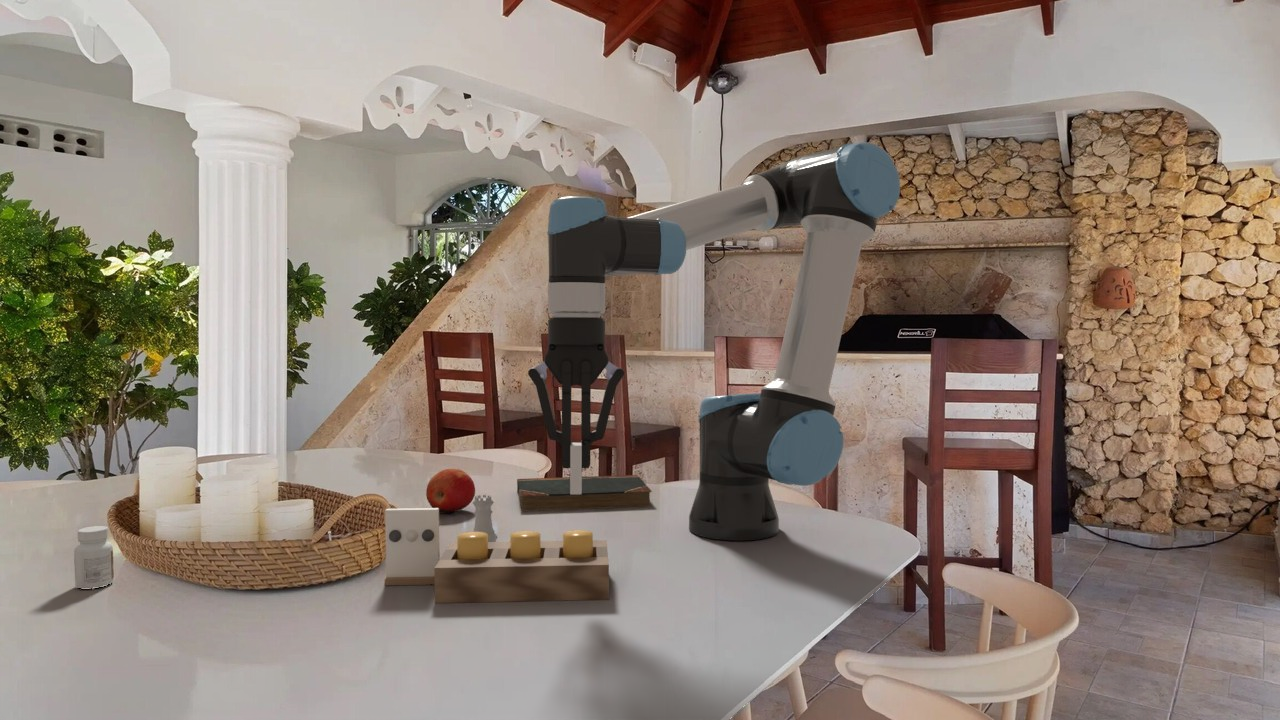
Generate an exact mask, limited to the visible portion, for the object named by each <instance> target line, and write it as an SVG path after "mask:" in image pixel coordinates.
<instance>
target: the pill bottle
mask: <svg viewBox="0 0 1280 720" xmlns="http://www.w3.org/2000/svg"><path fill="white" fill-rule="evenodd" d="M108 538H109V527H108V526H105V525H94V526H87V527H83V528H80V529H78V530H77V541H78V542H79V544H78V545H77V546H76V547H75V548H74V549H73V552H74V553H73V557H74V558H73V560H74V583H75V585H74V586H75V588H76V589H77V588H93V587H100V586H103V585H107V584H110V583H112V582H113V581H114V582H115V577H114V574H115V573H114V572H115V570H114V545H113V544H112V542H110V541H108V540H107V539H108ZM114 582H113V583H114ZM113 583H112V584H113ZM110 585H111V584H110Z"/></svg>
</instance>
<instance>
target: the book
mask: <svg viewBox="0 0 1280 720" xmlns="http://www.w3.org/2000/svg"><path fill="white" fill-rule="evenodd" d="M516 481H517V484H516V486H517V487H516V489H517V490H516V491H517V493H518V496H519V501H520V506H521V511H522V512H527V511H528V512H531V511H532V512H533V511H551V510H552V511H553V510H555V511H556V510H557V511H558V510H578V509H579V510H580V509H581V510H582V509H583V510H584V509H605V508H606V509H607V508H608V509H609V508H631V507H632V508H634V507H651V506H650V503H651V500H650V498H651V497H650V496H651V495H650V494H651V493H652V492H653V491H652V490H651V488H650V487H649V486H648V485H647V484H646V483H645V481H643V479H642V478H641V477H640V476H639V475H638V474H634V475H633V474H627V475H622V474H621V475H600V476H595V475H593V476H591V475H590V476H582V493H581V494H570V476H568V477H564V476H563V477H537V478H534V477H533V478H517V480H516Z"/></svg>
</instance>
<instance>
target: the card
mask: <svg viewBox="0 0 1280 720" xmlns="http://www.w3.org/2000/svg"><path fill="white" fill-rule="evenodd" d="M384 517H385V518H384V519H385V525H384V526H385V527H384V528H385V575H386V576H385V578H384V586H422V585H423V586H425V585H426V586H427V584H428V585H430V584H432V585H434V586H435V571H434V568H435V566H436V565H437V563H438V561H439V560H440V558H441V556H440V512H439V508H432V507H418V508H417V507H415V508H413V507H412V508H411V507H408V508H406V507H405V508H402V507H401V508H399V507H398V508H386V509H385V510H384ZM430 586H431V585H430Z"/></svg>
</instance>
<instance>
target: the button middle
mask: <svg viewBox="0 0 1280 720" xmlns="http://www.w3.org/2000/svg"><path fill="white" fill-rule="evenodd" d="M509 537H510V538H509V539H510V541H509V542H510V558H511V559H524V558H541V546H540V541H541V533H540V532H538V531H535V530H534V531H532V530H522V531H521V530H520V531H515V532H513V533H511V534H510V536H509Z"/></svg>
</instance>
